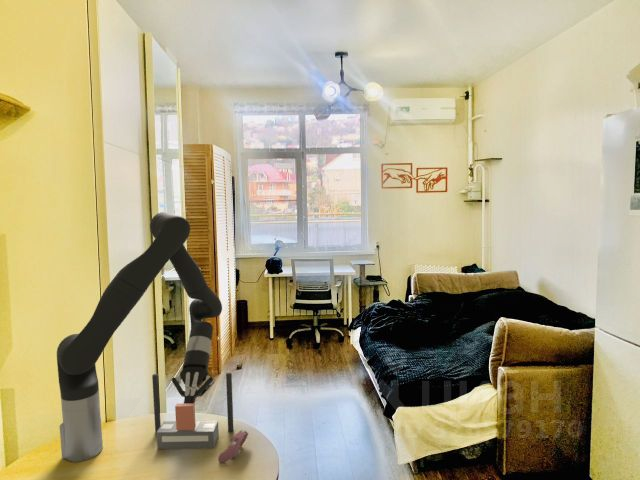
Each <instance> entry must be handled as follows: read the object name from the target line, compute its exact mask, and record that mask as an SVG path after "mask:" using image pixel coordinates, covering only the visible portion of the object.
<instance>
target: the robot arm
mask: <svg viewBox="0 0 640 480" xmlns="http://www.w3.org/2000/svg"><path fill="white" fill-rule="evenodd" d="M149 229H150V233H151V234H152V236H153V238H154V239H153V241H152V242H151V244H150V245H149V246H148V248H146V250H144V251H143V253H142V254H141V255H139V256H138V257H136V258H134V259H133V260H131V261H130V262H129V263H128V264H125V266H123V267H122V268H121V269H120V270H119V271H118V272H117V274H116V275H115V276H114V277H113V279H112V280H111V281H110V283H109V284H108V285H107V287H106V288H105V289H104V291H103V293H102V295H101V297H100V298H99V301H98V303H97V305H96V307H95V310H94V311H93V314H92V316H91V318H89V321H88V322H87V324H86V325H85V326H84V327H83V329H81V331H80V332H79V333H73V334H70V335H68V336H66V337H65V338H63V339H62V340H61V341H60V342H59V344H58V346H57V348H56V349H57V350H56V364H57V374H58V375H57V376H58V385H59V392H60V404H61V417H62V422H61V423H60V425H59V437H60V449H61V458H62V460H63V459H64V460H67V461H69V462H74V463H76V462H83V461H87V460H90V459H93V458H95V457H96V456H97V455H99V454H100V453H101V452H102V450H103V448H104V447H103V435H102V434H103V430H102V417H101V416H102V415H101V400H100V390H99V389H100V387H99V386H100V385H99V379H98V378H99V377H98V373H97V368H96V363H97V362H98V361H99V358H100V356H101V355H102V353H103V352H104V350H105V349H106V347H107V345H108V343H109V341H110V339H111V338H112V336H113V335H114V333H115V332H116V331H117V330H118V328H119V327H120V326H122V323H123V322H124V321H125V319H126V318H127V317H128V316H129V315H130V314H131V312H132V310H133V309H134V308H135V306H136V305H137V304H138V303H139V301H140V300H141V298H143V296H144V294H145V293H146V291H148V289H149V287H150V285H151V284H152V283H153V282H154V280H155V279H156V278H157V276H158V275H159V273H161V271H162V270H163V268H164V267H165V265H166V264H167V263H168V262H169V261H170V264H172V267H173V268H174V269H175V270H174V271H175V272H176V274H177V276H178V278H179V280H180V282H181V284H182V287H183V289H184V291H185V293H186V295H187V296H188V297H189V298H190V299H193V300H192V301H191V302H190V304H189V307H188V309H189V310H188V311H189V319H190V331H189V337H188V341H187V344H186V347H185V348H186V349H185V353H184V360H183V364H182V369H181V371H180V372H179V375H178V376H176V377H172V378H171V382H172V383H173V385H174V387H175V389H176V390H177V392H178V394H179V395H180V396H181V397H182V398H184V400H183V404H184V403H195V402H196V399H197V398H200V397H203V396H204V394H206V392H207V391H208V390H209V389H210V388H211V387H212V386H213V385H214V384H215V380H214V378H213V377H212V376H210V375H209V371H208V370H209V364H210V358H211V352H212V341H213V340H212V339H213V334H214V333H213V332H214V326H213V324H212V323H211V322H209V321H204V320H206V319H207V320H208V319H213V318H217V317H219V316H220V315H221V313H222V312H223V304H222V301H221V299H220V298H219V296H218V295H217V294H216V293H215V291H214V290H212V289H211V287H209V285H208V284H207V281H206V279H205V276H204V274H203V271H202V270H201V268H200V267H199V265H198V264H197V263H196V261H195V259H194V258H193V257H192V256H191V254H190V253H189V251H188V250H187V248H186V246H185V245H184V244H185V243H186V241H187V240H188V238H189V237H190V233H191V225H190V222H189V220H187V219H186V218H185V217H183V216H180V215H178V214H176V213H172V212H167V211H160V212H157V213H156V214H155V215H154V216H153V217H152V218H151V221H150V223H149ZM182 382H183V384H184V388H185V389H184V390H183V388H182V386H181V384H182ZM195 404H196V403H195Z"/></svg>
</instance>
